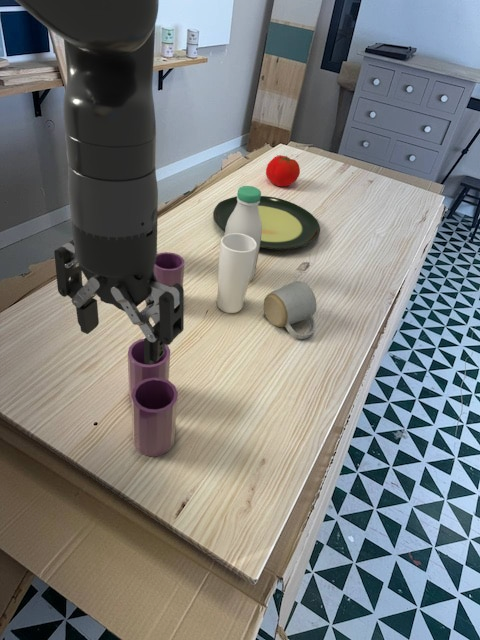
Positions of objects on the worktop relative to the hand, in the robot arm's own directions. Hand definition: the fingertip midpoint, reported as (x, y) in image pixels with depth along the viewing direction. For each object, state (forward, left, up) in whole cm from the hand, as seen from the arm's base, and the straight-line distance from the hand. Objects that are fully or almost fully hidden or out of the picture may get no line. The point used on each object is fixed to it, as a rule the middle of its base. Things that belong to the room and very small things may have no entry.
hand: (121, 344), depth 52 cm
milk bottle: (+33, +37, -22) cm, 55 cm away
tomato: (+66, +79, -22) cm, 106 cm away
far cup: (+15, +31, -22) cm, 41 cm away
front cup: (+4, +1, -22) cm, 22 cm away
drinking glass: (+27, +27, -22) cm, 44 cm away
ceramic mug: (+37, +19, -22) cm, 48 cm away
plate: (+49, +55, -22) cm, 77 cm away
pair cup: (+6, +9, -22) cm, 24 cm away
